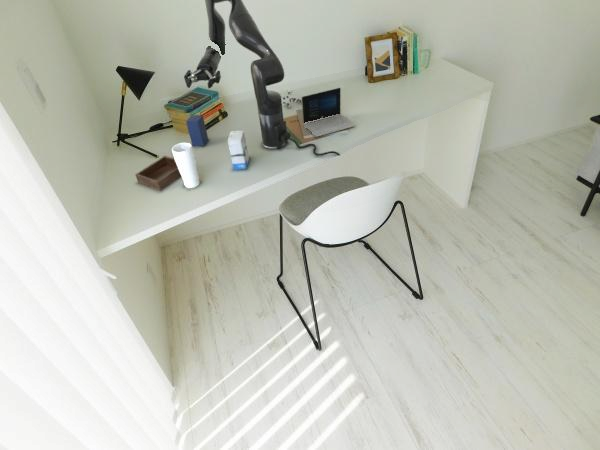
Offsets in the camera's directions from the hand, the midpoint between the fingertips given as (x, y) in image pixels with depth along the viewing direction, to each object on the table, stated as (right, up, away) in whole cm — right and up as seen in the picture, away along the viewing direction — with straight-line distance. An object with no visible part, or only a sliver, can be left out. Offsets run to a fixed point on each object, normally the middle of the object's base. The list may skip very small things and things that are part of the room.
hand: (198, 86), depth 159 cm
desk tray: (-9, -38, -13) cm, 41 cm away
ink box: (+19, -33, -9) cm, 39 cm away
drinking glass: (+3, -42, -18) cm, 46 cm away
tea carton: (0, -22, +5) cm, 22 cm away
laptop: (+53, -14, +9) cm, 56 cm away
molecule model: (+37, +1, +28) cm, 47 cm away
